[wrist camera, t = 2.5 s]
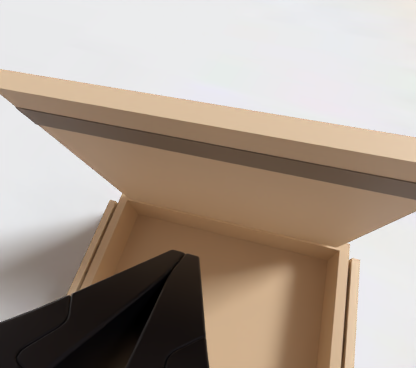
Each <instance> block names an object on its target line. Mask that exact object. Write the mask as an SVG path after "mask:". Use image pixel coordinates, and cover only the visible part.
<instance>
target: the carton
mask: <svg viewBox="0 0 416 368" xmlns="http://www.w3.org/2000/svg"><path fill="white" fill-rule="evenodd" d="M349 248H350V244H347V243H346V244H344V245H341V246H339V247H337V248H336V247H332V246H328V245H323V244H319V243H315V242H311V241H306V240H302V239H298V238H294V237H290V236H285V235H281V234H277V233H273V232H268V231H264V230H260V229H256V228H251V227H247V226H243V225H239V224H235V223H230V222H226V221H222V220H218V219H213V218H209V217H205V216H201V215H197V214H192V213H188V212H184V211H180V210H175V209H171V208H167V207H163V206H158V205H154V204H150V203H146V202H142V201H137V200H133V199H129V198H128V197H127V196H125V195H124V194H123V193H122V195H121V198H120V200H119V202H118V203H117V202H116V201H113V200H110V201H109V203H108V205H107V208H106V210H105V212H104V214H103V216H102V219H101V221H100V223H99V225H98V227H97V230H96V232H95V234H94V236H93V238H92V241H91V243H90V245H89V247H88V249H87V252H86V254H85V256H84V258H83V260H82V263H81V265H80V267H79V269H78V271H77V273H76V276H75V278H74V280H73V282H72V284H71V287H70V289H69V291H68V293H67V295H70V296H71V294H72V293H74V292H77V291H79V290H81V289H83V288H86V287H88V286H90V285H92V284H95V283H97V282H99V281H101V280H104V279H106V278H108V277H110V276H113V275H115V274H117V273H120V272H122V271H124V270H126V269H129V268H131V267H133V266H135V265H138V264H140V263H142V262H144V261H147V260H149V259H151V258H154V257H156V256H158V255H160V254H163V253H165V252H167V251H169V250H177V251H181V252H184V253H185V254H187V253H188V254H192V255H196V256H198V257H199V258H200V270H201V282H202V294H203V306H204V318H205V330H206V340H207V352H208V360H209V368H354V357H355V339H356V322H357V304H358V287H359V269H360V260H358V259H354V258H352V259H350V260H349ZM67 295H66V296H67Z"/></svg>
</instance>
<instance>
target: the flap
mask: <svg viewBox="0 0 416 368" xmlns="http://www.w3.org/2000/svg"><path fill="white" fill-rule="evenodd" d="M0 94H1V95H2V96H3V97H4V98H6V99H7V100H8V101H9V102H11V103H12V104H13V105H14V106H15V107H16V108H17V109H18V110H19V111H20V112H21V113H23V114H24V115H25V116H26V117H28V118H29V119H30V120H31V121H33V122H34V123H35V124H37V125H39V126H40V127H41V128H43V129H44V130H45V131H46V132H48V133H49V134H50V135H51V136H53V137H54V138H55V139H56V140H57V141H59V142H60V143H61V144H62V145H64V146H65V147H66V148H67V149H69V150H70V151H71V152H72V153H74V154H75V155H76V156H77V157H78V158H80V159H81V160H82V161H83V162H85V163H86V164H87V165H88V166H90V167H91V168H92V169H93V170H95V171H96V172H97V173H98V174H100V175H101V176H102V177H103V178H104V179H106V180H107V181H108V182H109V183H111V184H112V185H113V186H114V187H116V188H117V189H118V190H119V191H121V192H122V193H123V194H124V195H125V196H127V197H128V198H129V199H133V200H137V201H142V202H146V203H150V204H154V205H158V206H163V207H167V208H171V209H175V210H180V211H184V212H188V213H192V214H197V215H201V216H205V217H209V218H213V219H218V220H222V221H226V222H230V223H235V224H239V225H243V226H247V227H251V228H256V229H260V230H264V231H268V232H273V233H277V234H281V235H285V236H290V237H294V238H298V239H302V240H306V241H311V242H315V243H319V244H323V245H328V246H332V247H336V248H337V247H339V246H341V245H344V244H346V243H348V242H350V241H352V240H355V239H357V238H359V237H361V236H363V235H365V234H368V233H370V232H372V231H374V230H376V229H378V228H381V227H383V226H385V225H387V224H389V223H391V222H394V221H396V220H398V219H400V218H402V217H405V216H407V215H409V214H411V213H413V212H415V211H416V137H410V136H404V135H398V134H392V133H386V132H380V131H374V130H367V129H361V128H355V127H349V126H343V125H337V124H331V123H325V122H319V121H313V120H307V119H300V118H294V117H288V116H282V115H276V114H270V113H264V112H258V111H252V110H246V109H240V108H234V107H227V106H221V105H215V104H209V103H203V102H197V101H191V100H185V99H179V98H173V97H167V96H160V95H154V94H148V93H142V92H136V91H130V90H124V89H118V88H112V87H106V86H100V85H93V84H87V83H81V82H75V81H69V80H63V79H57V78H51V77H45V76H39V75H33V74H26V73H20V72H14V71H8V70H2V69H0Z"/></svg>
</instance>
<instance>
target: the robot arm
mask: <svg viewBox="0 0 416 368" xmlns="http://www.w3.org/2000/svg"><path fill="white" fill-rule="evenodd" d="M0 368H209V360H208V352H207V340H206V330H205V318H204V306H203V294H202V282H201V270H200V258H199V257H198V256H196V255H192V254H188V253H187V254H185V253H184V252H181V251H177V250H169V251H167V252H165V253H163V254H160V255H158V256H156V257H154V258H151V259H149V260H147V261H144V262H142V263H140V264H138V265H135V266H133V267H131V268H129V269H126V270H124V271H122V272H120V273H117V274H115V275H113V276H110V277H108V278H106V279H104V280H101V281H99V282H97V283H95V284H92V285H90V286H88V287H86V288H83V289H81V290H79V291H77V292H74V293H72V294H71V296H70V295H67V296H65V297H63V298H60V299H58V300H56V301H54V302H51V303H49V304H46V305H44V306H42V307H39V308H37V309H34V310H32V311H29V312H27V313H24V314H21V315H19V316H16V317H13V318H11V319H8V320H5V321H3V322H0Z"/></svg>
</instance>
